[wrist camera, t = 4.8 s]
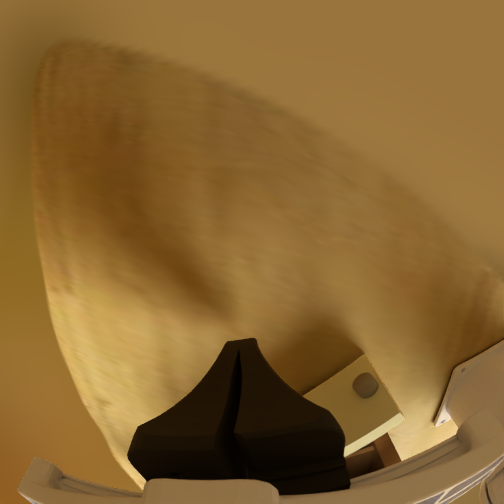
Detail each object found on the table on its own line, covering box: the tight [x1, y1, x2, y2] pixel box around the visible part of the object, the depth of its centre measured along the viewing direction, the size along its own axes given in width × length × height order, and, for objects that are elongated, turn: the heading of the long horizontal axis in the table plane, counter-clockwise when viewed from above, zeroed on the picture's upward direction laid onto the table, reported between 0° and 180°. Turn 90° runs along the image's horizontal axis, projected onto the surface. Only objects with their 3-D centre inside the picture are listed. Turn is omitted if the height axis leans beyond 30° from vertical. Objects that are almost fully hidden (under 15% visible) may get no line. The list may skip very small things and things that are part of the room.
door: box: [303, 354, 406, 457], centre depth 13 cm, size 11×2×6 cm, turn 130°
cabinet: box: [345, 433, 401, 479], centre depth 15 cm, size 11×11×6 cm
